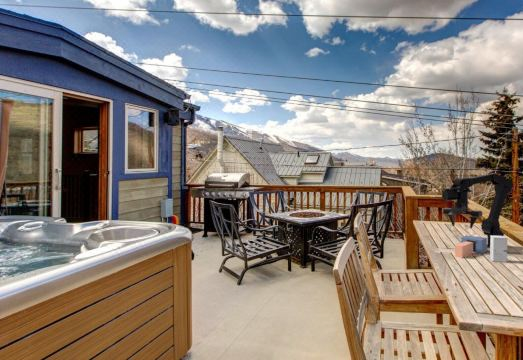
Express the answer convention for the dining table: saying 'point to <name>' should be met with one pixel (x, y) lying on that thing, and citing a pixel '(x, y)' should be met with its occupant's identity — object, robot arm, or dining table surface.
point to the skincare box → (498, 248)
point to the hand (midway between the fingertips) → (462, 227)
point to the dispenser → (476, 243)
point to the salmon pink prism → (464, 249)
